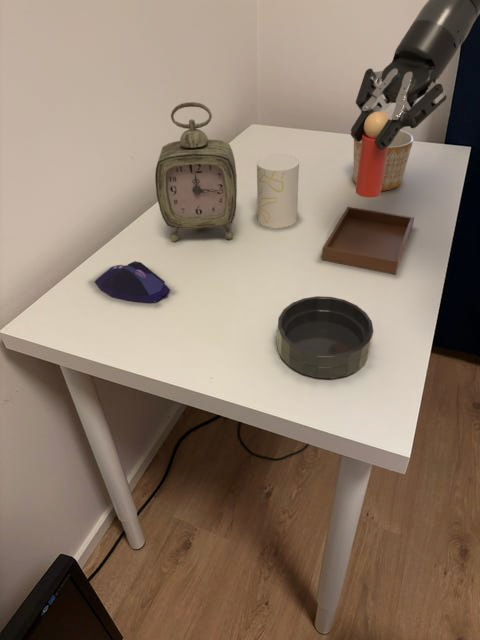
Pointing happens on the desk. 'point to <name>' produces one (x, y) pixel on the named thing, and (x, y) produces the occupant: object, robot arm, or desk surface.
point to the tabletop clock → (196, 180)
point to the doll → (371, 157)
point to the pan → (324, 337)
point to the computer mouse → (132, 283)
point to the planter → (390, 160)
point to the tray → (368, 240)
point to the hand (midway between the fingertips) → (366, 142)
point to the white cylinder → (277, 190)
